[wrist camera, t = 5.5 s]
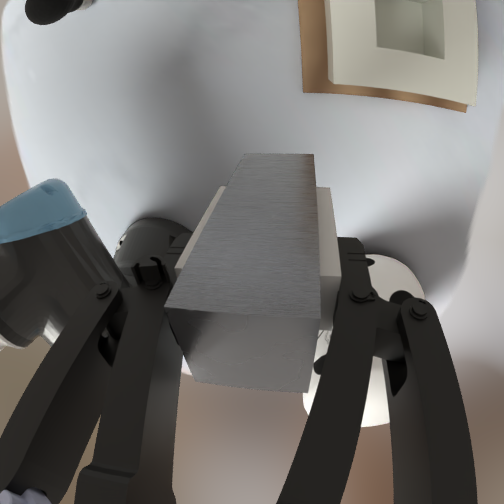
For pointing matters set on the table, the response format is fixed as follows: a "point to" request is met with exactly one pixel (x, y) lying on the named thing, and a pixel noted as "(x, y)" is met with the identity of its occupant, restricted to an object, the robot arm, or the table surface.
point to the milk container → (376, 408)
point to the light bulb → (52, 9)
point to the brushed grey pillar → (254, 280)
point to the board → (317, 63)
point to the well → (405, 46)
